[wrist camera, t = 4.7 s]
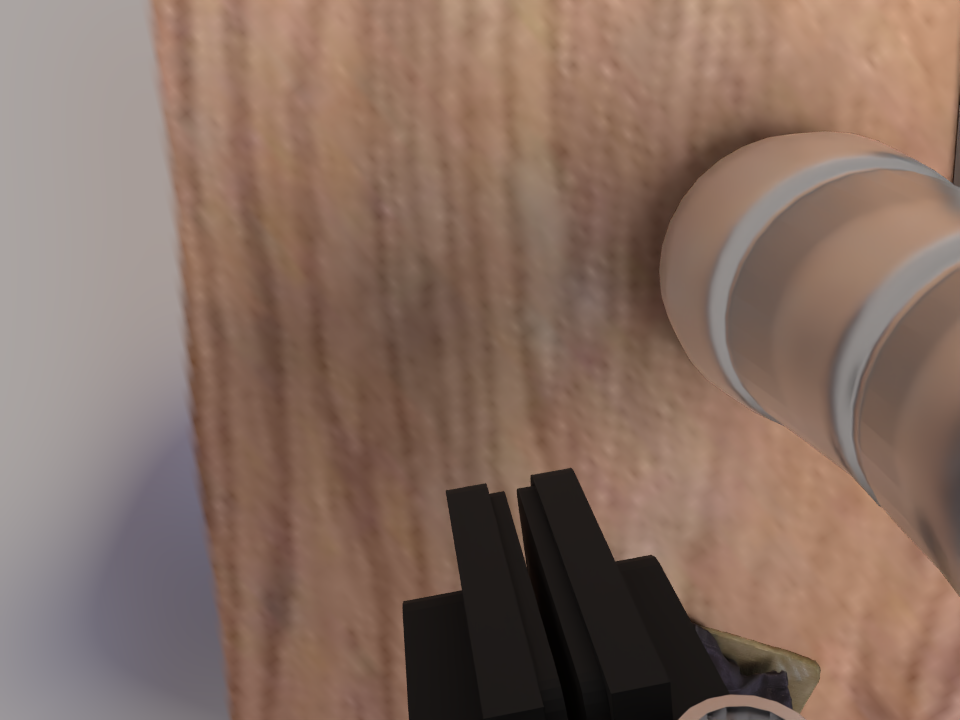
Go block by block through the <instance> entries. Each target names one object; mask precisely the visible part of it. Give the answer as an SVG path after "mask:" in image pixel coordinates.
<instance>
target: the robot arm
mask: <svg viewBox="0 0 960 720" xmlns="http://www.w3.org/2000/svg"><path fill="white" fill-rule="evenodd" d="M530 479H531V486H530V487H525V488H519V489H517V498H518V506H519V513H520V521H521V528H522V535H523V543H524V550H525V557H526V563H525V560H524V557H523V553H522V550H521V546H520V543H519V539H518V536H517V533H516V529H515V526H514V522H513V519H512V515H511V512H510V508H509V505H508V502H507V498H506V495H505V492H504V491H503V492H497V493H492V494H489V491H488V487H487V484H486V483H485V484H479V485H474V486H468V487H463V488H457V489H452V490H446V496H447V502H448V508H449V514H450V520H451V526H452V532H453V538H454V544H455V550H456V556H457V562H458V568H459V574H460V580H461V586H462V590H461V591H456V592H451V593H445V594H440V595H435V596H429V597H424V598H419V599H413V600H408V601H403V626H404V643H405V660H406V677H407V694H408V711H409V720H806V719H805V718H804V717H802V716H801V715H800V714H799V713H798V712H796V711H794V710H792V709H790V708H788V707H786V706H784V705H782V704H780V703H778V702H776V701H772V700H768V699H765V698H761V697H757V696H752V695H730V693H729V691H728V689H727V688H726V686H725V684H724V682H723V680H722V678H721V676H720V675H719V673H718V671H717V669H716V667H715V665H714V663H713V662H712V660H711V658H710V656H709V654H708V652H707V650H706V649H705V647H704V645H703V643H702V641H701V639H700V637H699V636H698V634H697V632H696V630H695V628H694V626H693V624H692V623H691V621H690V619H689V617H688V615H687V613H686V611H685V610H684V608H683V606H682V604H681V602H680V600H679V598H678V597H677V595H676V593H675V591H674V589H673V587H672V585H671V584H670V582H669V580H668V578H667V576H666V574H665V572H664V571H663V569H662V567H661V565H660V563H659V562H658V560H657V559H656V557H654V556H652V555H648V556H643V557H637V558H632V559H627V560H621V561H616V562H615V560H614V558H613V555H612V553H611V551H610V549H609V547H608V545H607V542H606V540H605V538H604V536H603V534H602V531H601V529H600V527H599V525H598V523H597V521H596V518H595V516H594V514H593V512H592V510H591V507H590V505H589V503H588V501H587V499H586V497H585V494H584V492H583V490H582V488H581V486H580V483H579V481H578V479H577V477H576V475H575V473H574V471H573V469H572V468H568V469H563V470H557V471H552V472H546V473H541V474H535V475H531V478H530ZM526 564H527V567H526Z"/></svg>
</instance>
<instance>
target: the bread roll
mask: <svg viewBox="0 0 960 720" xmlns="http://www.w3.org/2000/svg"><path fill="white" fill-rule="evenodd" d="M691 623H692V622H691ZM692 624H693V626H694V628H695V630H696V632H697V634H698V636H699V637H700V639H701V641H702V643H703V645H704V647H705V649H706V650H707V652H708V654H709V656H710V658H711V660H712V662H713V663H714V665H715V667H716V669H717V671H718V673H719V675H720V676H721V678H722V680H723V682H724V684H725V686H726V688H727V689H728V691H729V693H730V695H752V696H757V697H761V698H765V699H768V700H772V701H776V702H778V703H780V704H782V705H784V706H786V707H788V708H790V709H792V710H794V711H796V712H798V713H799V714H800V712H801V711H802V709H803V707H804V705H805V703H806V702H807V700H808V698H809V697H810V695H811V693H812V691H813V690H814V688H815V686H816V685H817V683H818V682H819V679H820V671H821V670H820V667H819V665H818V663H817V662H816V661H814V660H811V659H810V658H807V657H804V656H801V655H799V654H796V653H793V652H791V651H788V650H784V649H781V648H777V647H772V646H769V645H766V644H763V643H760V642H757V641H754V640H749V639H746V638H742V637H740V636H737V635H733V634H730V633H727V632H721V631H719V630H715V629H711V628H707V627H703V626H700V625H697V624H695V623H692Z"/></svg>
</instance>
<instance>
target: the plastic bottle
mask: <svg viewBox="0 0 960 720" xmlns="http://www.w3.org/2000/svg"><path fill="white" fill-rule="evenodd" d="M659 276H660V288H661V296H662V299H663V303H664V306H665V309H666V313H667V316H668V318H669V321H670V323H671V325H672V327H673V329H674V331H675V333H676V336H677V338H678V340H679V342H680V343H681V345H682V347H683V349H684V351H685V352H686V354H687V356H688V358H689V360H690V361H691V363H692V364H693V365H694V366H695V367H696V368H697V369H698V370H699V371H700V373H701V374H702V375H703V376H704V377H705V378H706V379H707V380H708V381H709V382H711V383H712V384H713V385H715V386H716V387H718V388H719V389H720V390H722V391H723V392H724V393H726V394H727V395H729V396H730V397H732V398H733V399H735V400H736V401H738V402H739V403H741V404H742V405H744V406H746V407H747V408H749V409H750V410H752V411H753V412H755V413H757V414H759V415H761V416H763V417H766V418H768V419H770V420H772V421H774V422H777V423H779V424H781V425H783V426H785V427H787V428H788V429H789V430H791V431H792V432H793V433H795V434H796V435H797V436H799V437H800V438H802V439H803V440H804V441H806V442H807V443H808V444H810V445H811V446H812V447H814V448H815V449H816V450H818V451H819V452H820V453H822V454H823V455H824V456H826V457H827V458H828V459H830V460H831V461H832V462H834V463H835V464H836V465H838V466H839V467H840V468H842V469H843V470H844V471H846V472H847V473H848V474H850V475H851V476H852V477H853V478H854V479H855V480H856V481H857V482H858V483H859V485H860V486H861V487H862V488H863V489H864V490H865V491H866V492H867V493H868V494H869V495H870V496H871V497H872V499H873V500H874V501H875V502H876V503H877V504H878V505H879V506H880V507H882V508H883V509H884V510H885V511H886V513H887V514H888V515H889V516H890V517H891V518H892V520H893V521H894V522H895V523H896V524H897V525H898V526H899V527H900V529H901V530H902V531H903V532H904V533H905V534H906V535H907V536H908V537H909V538H910V539H911V540H912V541H913V542H914V543H915V545H916V546H917V547H918V548H919V549H920V550H921V551H922V552H923V553H924V554H925V555H926V556H927V557H928V558H929V559H930V561H931V562H932V563H933V564H934V565H935V566H936V567H937V568H938V569H939V570H940V571H941V573H942V574H943V575H944V577H945V578H946V579H947V581H948V582H949V583H950V585H951V586H952V587H953V589H954V590H955V591H956V593H957V594H958V595H959V597H960V187H957V186H955V185H953V184H952V183H951V182H950V181H948V180H947V179H946V178H944V177H943V176H941V175H940V174H939V173H937V172H936V171H934V170H933V169H931V168H929V167H927V166H926V165H924V164H922V163H920V162H919V161H917V160H915V159H913V158H911V157H910V156H908V155H906V154H904V153H902V152H900V151H898V150H896V149H894V148H892V147H890V146H888V145H886V144H884V143H882V142H880V141H878V140H874V139H871V138H867V137H864V136H860V135H857V134H854V133H844V132H829V131H819V132H808V133H796V134H788V135H781V136H774V137H768V138H765V139H762V140H759V141H756V142H753V143H751V144H748V145H745V146H742V147H741V148H739V149H737V150H736V151H734V152H732V153H730V154H729V155H727V156H725V157H724V158H722V159H720V160H719V161H718V162H717V163H715V164H714V165H713V166H712V167H711V168H710V169H708V170H707V171H706V172H705V173H704V174H703V175H701V176H700V177H699V178H698V180H697V181H696V182H695V183H694V184H693V186H692V187H691V188H690V189H689V191H688V192H687V193H686V194H685V196H684V197H683V198H682V200H681V202H680V204H679V205H678V207H677V209H676V211H675V213H674V215H673V217H672V218H671V220H670V222H669V226H668V229H667V232H666V235H665V238H664V241H663V244H662V250H661V259H660V267H659Z"/></svg>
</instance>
